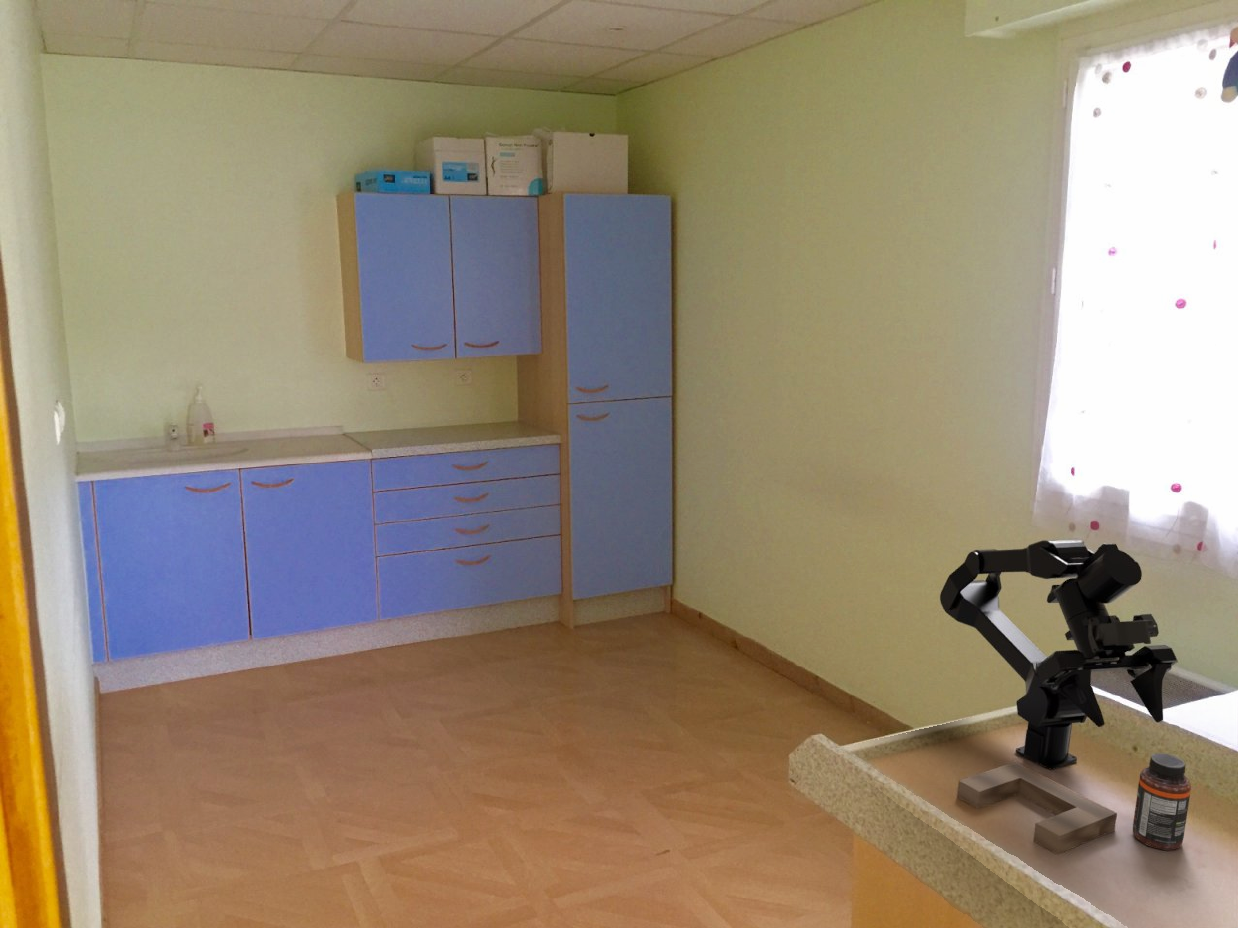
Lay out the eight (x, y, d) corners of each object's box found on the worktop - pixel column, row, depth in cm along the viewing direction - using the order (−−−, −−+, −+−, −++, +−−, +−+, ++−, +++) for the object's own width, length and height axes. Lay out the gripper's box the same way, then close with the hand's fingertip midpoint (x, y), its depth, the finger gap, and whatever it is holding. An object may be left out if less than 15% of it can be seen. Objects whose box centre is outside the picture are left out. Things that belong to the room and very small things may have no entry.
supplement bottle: (1137, 822, 140) (1149, 744, 138) (1186, 838, 136) (1199, 758, 134) (1126, 839, 135) (1137, 759, 133) (1176, 857, 132) (1189, 775, 130)
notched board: (1013, 777, 151) (1015, 761, 150) (1114, 830, 138) (1117, 812, 137) (957, 796, 145) (958, 780, 144) (1057, 853, 131) (1059, 835, 131)
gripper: (1060, 595, 140) (1105, 706, 131) (1177, 590, 144) (1228, 697, 136) (1019, 630, 149) (1058, 736, 140) (1130, 624, 153) (1175, 727, 145)
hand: (1131, 723), depth 140 cm, fingers open, 9 cm apart
